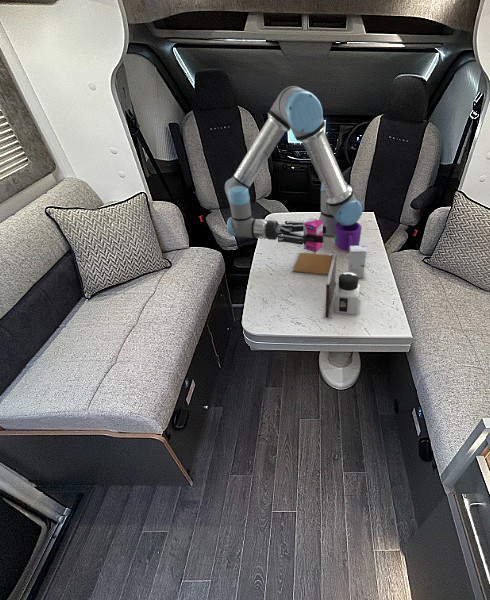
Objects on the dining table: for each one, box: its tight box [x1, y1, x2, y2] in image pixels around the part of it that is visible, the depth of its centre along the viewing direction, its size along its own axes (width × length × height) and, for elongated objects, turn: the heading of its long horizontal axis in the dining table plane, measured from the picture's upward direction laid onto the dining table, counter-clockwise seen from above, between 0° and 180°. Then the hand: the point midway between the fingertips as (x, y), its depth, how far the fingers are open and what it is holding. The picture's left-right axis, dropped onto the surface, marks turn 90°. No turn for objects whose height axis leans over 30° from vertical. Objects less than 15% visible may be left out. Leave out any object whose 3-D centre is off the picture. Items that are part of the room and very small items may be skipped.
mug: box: [334, 221, 362, 254], centre depth 147 cm, size 17×11×10 cm, turn 3°
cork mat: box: [292, 252, 333, 276], centre depth 141 cm, size 14×14×1 cm
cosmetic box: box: [347, 245, 367, 279], centre depth 132 cm, size 6×4×12 cm
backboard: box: [324, 251, 338, 319], centre depth 119 cm, size 20×1×14 cm, turn 171°
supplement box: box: [302, 217, 324, 254], centre depth 133 cm, size 6×6×12 cm
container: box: [333, 272, 361, 315], centre depth 116 cm, size 8×8×13 cm
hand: (324, 234), depth 132 cm, fingers closed on supplement box, 7 cm apart
